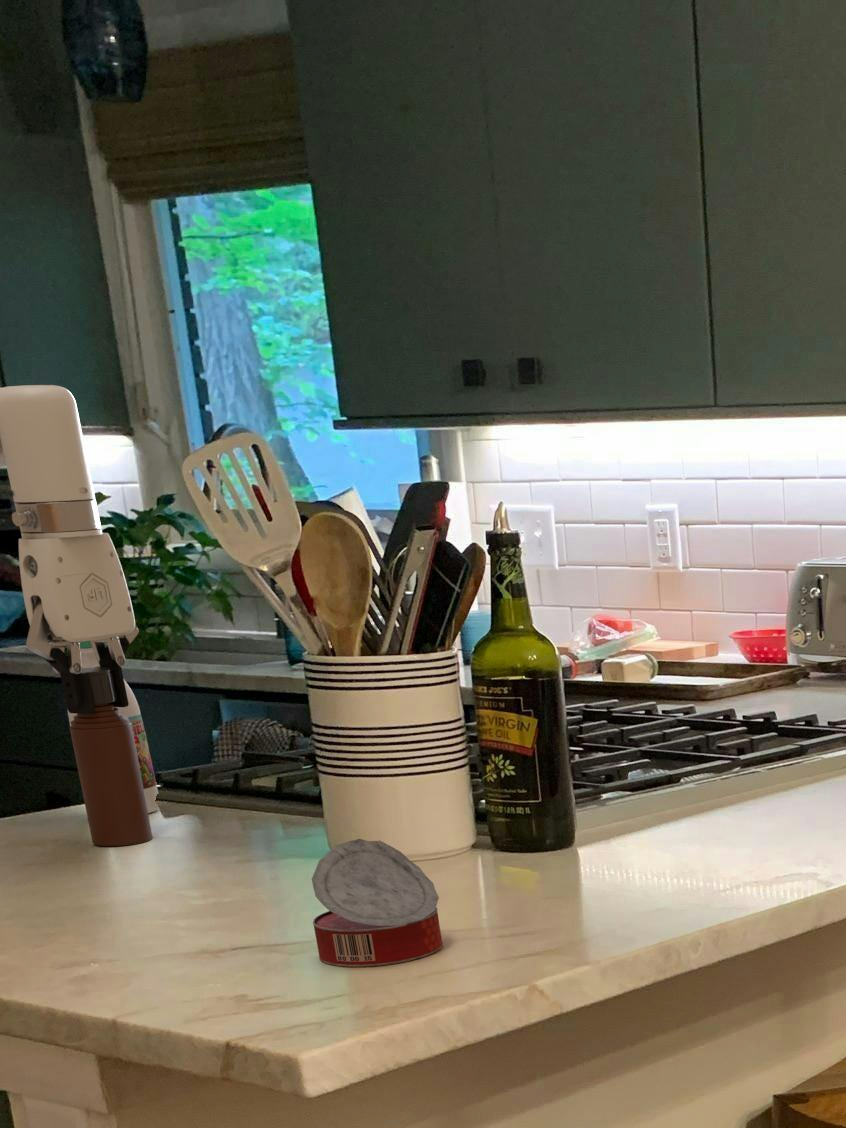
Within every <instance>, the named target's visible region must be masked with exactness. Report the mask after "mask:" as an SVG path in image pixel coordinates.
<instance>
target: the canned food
mask: <svg viewBox="0 0 846 1128" xmlns="http://www.w3.org/2000/svg"><path fill="white" fill-rule="evenodd" d="M311 883H312V887H313V892H314V896H315V898H316V899H317V900H318V901H319V902H320V903H321V905H322V906H323V907H324V908H325V909H327V910H328V911H325V912H323V913H321V914H319V915H316V916H315V918H314V919H313V921H312V924H313V930H314V935H315V941H316V945H317V951H318V959H319V960H320V961H321V962H322V963H324V964H326V965H330V966H335V967H346V968H366V967H379V966H380V967H381V966H388V965H395V964H396V965H397V964H401V963H406V962H411V961H415V960H419V959H423V958H425V957H428V956H430V955H432V954H435V953H437V952H438V951H439V950H441V949H442V947H443V946H444V942H443V938H442V932H441V926H440V920H439V912H438V907H437V906H438V902H439V900H440V899H439V898H440V897H439V895H438V893H437V890H436V888H435V885H434V882H433V881H432V880H431V879H430V878H429V877H428V876H427V875H426V874H425V873H424V871H423V870H422V869H421V867H419V865H417V864H416V863H414V862H413V861H411V860H410V859H409V858H408V857H407V856H406V855H405V854H404V853H403V852H401V851H400V850H399V849H396V848H395V847H393V846H391V845H390V844H387V843H386V842H384V841H381V840H367V839H362V838H356V839H352V840H348V841H345V842H342V843H339V844H336V845H335V846H334V847H333V848H332V849H331V850H329V851H328V853H326V854H325V855H324V856H322V858H320V859H319V860H318V862H317V865H316V867H315V870H314V872H313V875H312V877H311Z"/></svg>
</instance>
